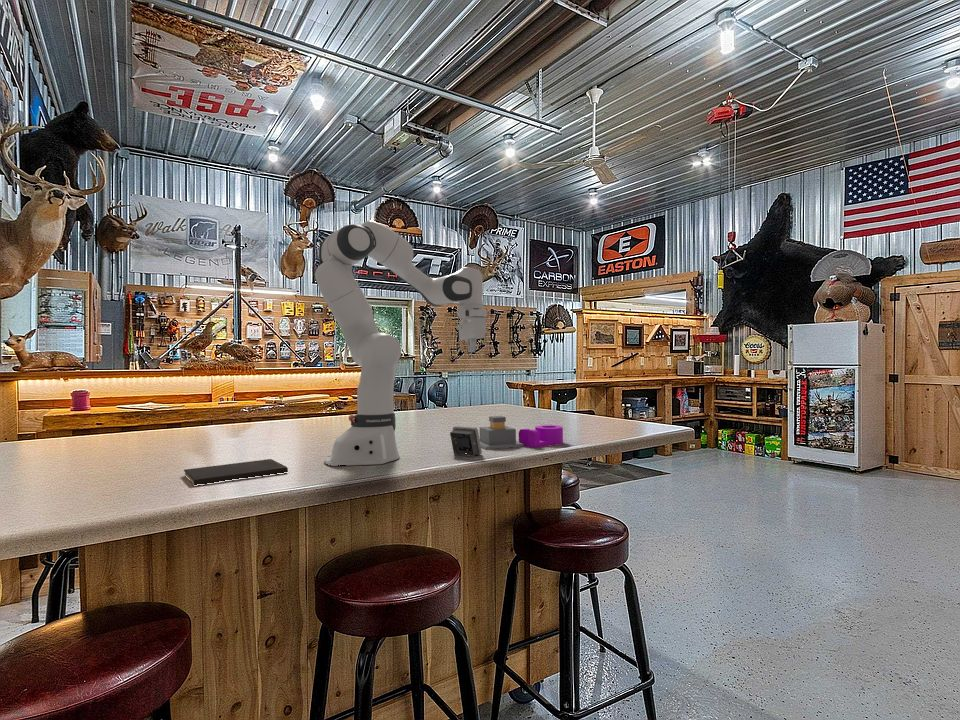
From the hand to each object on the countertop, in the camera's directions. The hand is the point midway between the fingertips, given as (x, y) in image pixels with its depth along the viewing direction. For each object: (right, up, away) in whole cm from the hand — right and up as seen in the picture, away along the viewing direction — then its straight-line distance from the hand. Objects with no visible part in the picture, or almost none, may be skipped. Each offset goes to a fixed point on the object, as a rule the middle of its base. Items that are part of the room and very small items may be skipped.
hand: (471, 352), depth 189 cm
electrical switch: (-1, -34, -20) cm, 39 cm away
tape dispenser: (+26, -33, 0) cm, 42 cm away
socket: (+9, -33, -1) cm, 34 cm away
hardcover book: (-64, -35, -44) cm, 85 cm away
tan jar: (+9, -32, -1) cm, 33 cm away
